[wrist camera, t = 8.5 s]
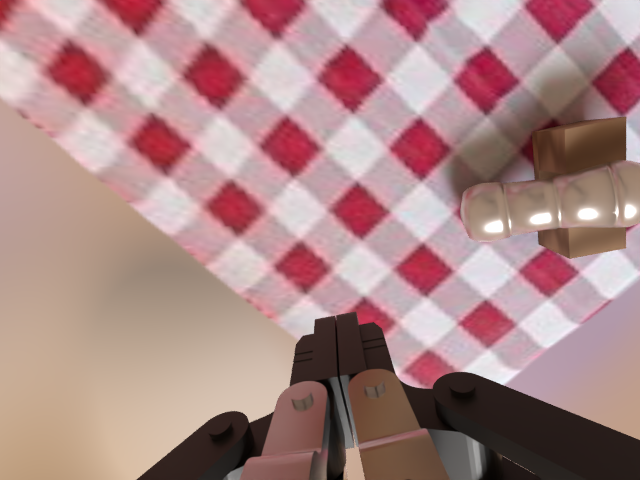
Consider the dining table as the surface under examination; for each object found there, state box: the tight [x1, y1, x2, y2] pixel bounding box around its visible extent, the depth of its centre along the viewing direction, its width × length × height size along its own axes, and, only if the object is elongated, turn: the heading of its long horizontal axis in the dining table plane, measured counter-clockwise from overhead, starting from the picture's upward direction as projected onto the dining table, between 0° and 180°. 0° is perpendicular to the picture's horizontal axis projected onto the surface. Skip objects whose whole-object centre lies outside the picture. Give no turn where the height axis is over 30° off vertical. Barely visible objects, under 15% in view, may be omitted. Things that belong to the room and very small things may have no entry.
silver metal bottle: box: [460, 160, 640, 242], centre depth 37 cm, size 6×7×20 cm
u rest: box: [532, 117, 626, 259], centre depth 41 cm, size 14×6×6 cm, turn 12°
